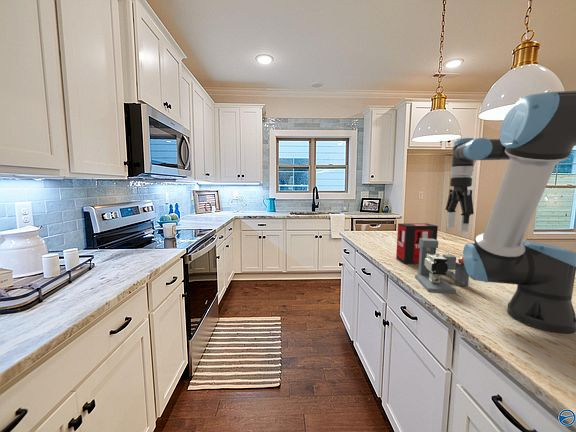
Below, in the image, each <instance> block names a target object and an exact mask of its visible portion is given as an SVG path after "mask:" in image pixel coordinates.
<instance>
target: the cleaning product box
mask: <svg viewBox="0 0 576 432" xmlns="http://www.w3.org/2000/svg"><path fill="white" fill-rule="evenodd" d="M438 229H439V226H438V225H437V224H436V225H435V224H431V223H420V222H419V223H405V222H404V223H397V236H396V237H397V239H396V240H397V241H396V255H395V256H396V257H395V259H396V260H397V261H399V262H400V263H402V264H403V265H419V254H420V245H419V238H428V239H435V240H437V241H438ZM434 253H437V248H435V251H434Z"/></svg>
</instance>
